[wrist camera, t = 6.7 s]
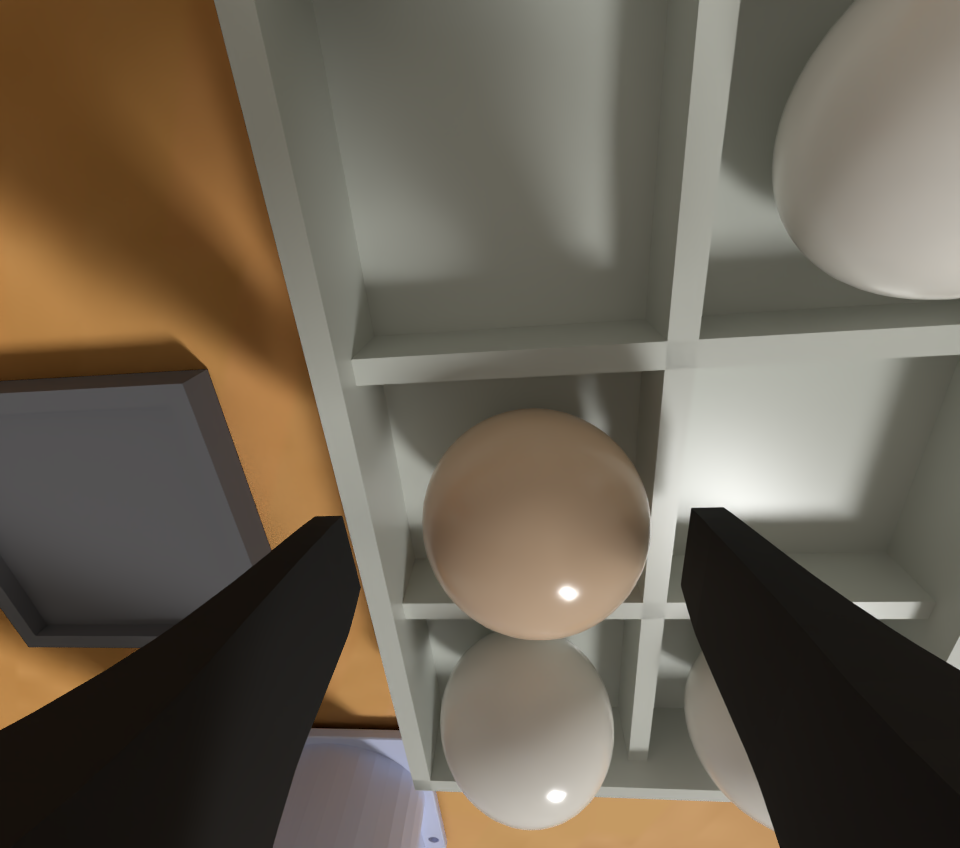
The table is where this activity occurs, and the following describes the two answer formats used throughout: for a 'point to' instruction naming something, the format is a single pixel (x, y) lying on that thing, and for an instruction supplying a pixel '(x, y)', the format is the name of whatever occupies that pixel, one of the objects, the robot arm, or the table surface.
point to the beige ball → (536, 524)
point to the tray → (592, 315)
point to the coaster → (118, 506)
